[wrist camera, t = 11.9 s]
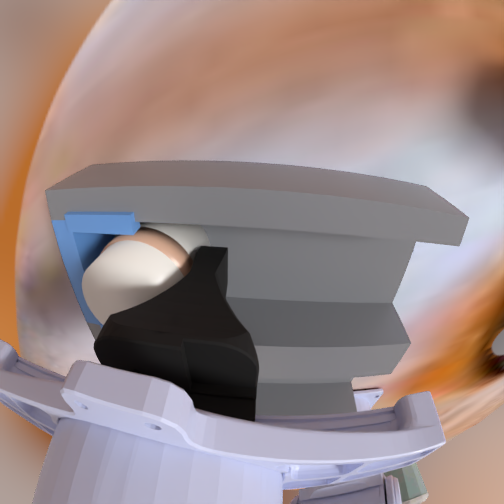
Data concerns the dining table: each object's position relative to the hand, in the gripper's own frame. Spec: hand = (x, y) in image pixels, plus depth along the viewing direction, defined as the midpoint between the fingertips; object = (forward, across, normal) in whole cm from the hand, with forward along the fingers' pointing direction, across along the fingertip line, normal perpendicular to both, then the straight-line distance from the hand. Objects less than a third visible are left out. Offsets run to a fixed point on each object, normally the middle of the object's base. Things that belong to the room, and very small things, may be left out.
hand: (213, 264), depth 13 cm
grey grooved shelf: (+2, -2, +5) cm, 5 cm away
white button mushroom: (+1, +3, 0) cm, 3 cm away
